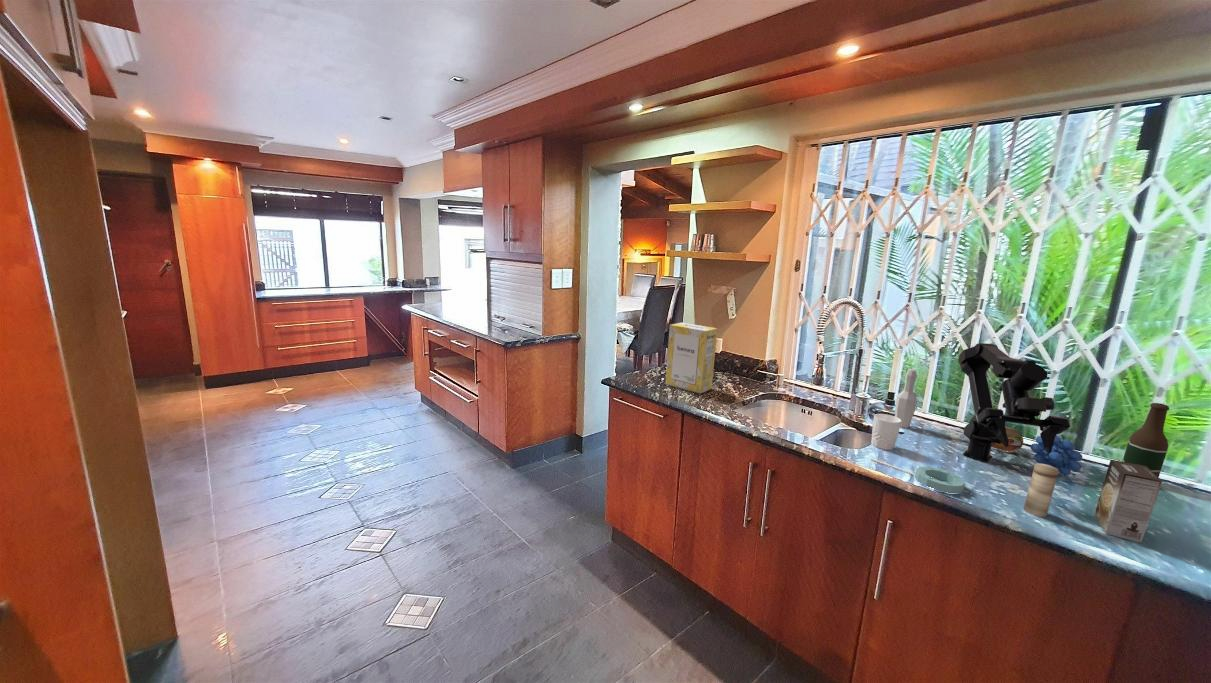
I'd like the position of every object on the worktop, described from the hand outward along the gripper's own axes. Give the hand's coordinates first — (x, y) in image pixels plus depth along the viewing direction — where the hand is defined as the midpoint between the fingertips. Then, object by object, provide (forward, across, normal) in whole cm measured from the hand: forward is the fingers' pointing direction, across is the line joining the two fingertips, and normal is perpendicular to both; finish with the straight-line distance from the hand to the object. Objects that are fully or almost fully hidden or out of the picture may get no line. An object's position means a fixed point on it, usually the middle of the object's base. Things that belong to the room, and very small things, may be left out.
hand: (1027, 449), depth 123 cm
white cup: (-5, -28, +25) cm, 38 cm away
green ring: (+11, -19, +8) cm, 23 cm away
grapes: (-5, +17, +25) cm, 30 cm away
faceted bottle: (-23, -17, +42) cm, 51 cm away
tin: (-16, +8, +36) cm, 40 cm away
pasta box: (-31, -100, +51) cm, 116 cm away
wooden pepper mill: (+16, 0, +3) cm, 16 cm away
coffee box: (+17, +16, +3) cm, 23 cm away
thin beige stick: (+6, -29, +13) cm, 32 cm away
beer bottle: (-10, +41, +29) cm, 51 cm away
